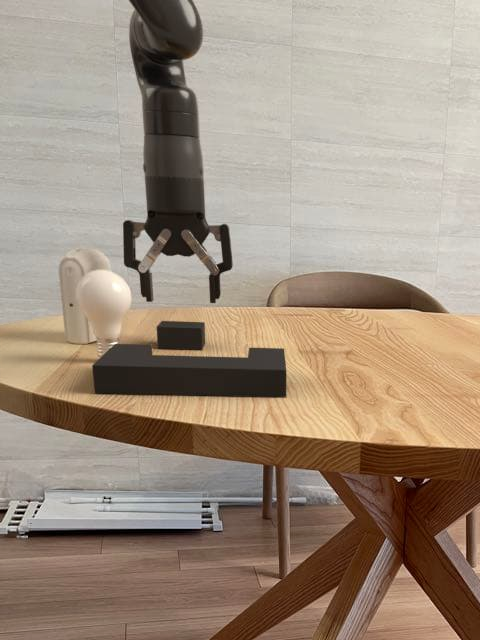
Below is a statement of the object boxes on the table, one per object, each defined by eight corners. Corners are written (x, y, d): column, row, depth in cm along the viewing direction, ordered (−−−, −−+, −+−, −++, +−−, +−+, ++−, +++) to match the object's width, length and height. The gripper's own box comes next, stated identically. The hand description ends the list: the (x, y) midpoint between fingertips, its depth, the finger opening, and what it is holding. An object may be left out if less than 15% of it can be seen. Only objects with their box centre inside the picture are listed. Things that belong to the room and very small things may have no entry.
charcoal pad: (94, 393, 87) (91, 365, 86) (116, 368, 99) (114, 343, 98) (286, 397, 90) (286, 369, 89) (284, 372, 103) (284, 348, 101)
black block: (157, 348, 114) (156, 326, 112) (162, 342, 119) (161, 320, 118) (202, 350, 115) (201, 328, 113) (205, 343, 120) (204, 322, 119)
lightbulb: (145, 360, 106) (140, 270, 101) (116, 367, 100) (109, 272, 96) (103, 355, 107) (95, 266, 103) (71, 362, 101) (62, 268, 97)
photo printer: (91, 345, 114) (83, 250, 109) (61, 343, 114) (51, 248, 109) (120, 334, 123) (113, 247, 118) (91, 332, 123) (84, 245, 119)
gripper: (230, 178, 113) (234, 300, 119) (122, 172, 111) (132, 297, 117) (228, 177, 106) (232, 306, 112) (113, 171, 104) (124, 304, 110)
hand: (181, 302), depth 115 cm, fingers open, 8 cm apart
